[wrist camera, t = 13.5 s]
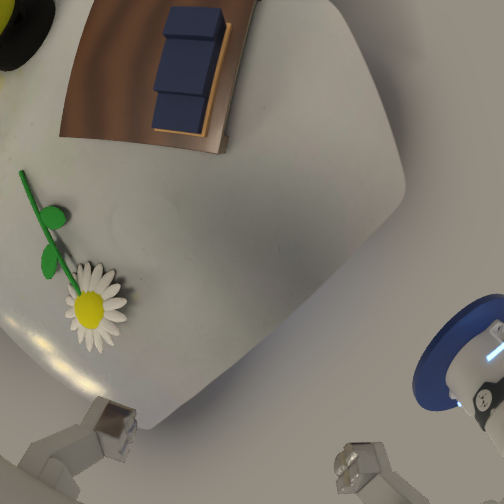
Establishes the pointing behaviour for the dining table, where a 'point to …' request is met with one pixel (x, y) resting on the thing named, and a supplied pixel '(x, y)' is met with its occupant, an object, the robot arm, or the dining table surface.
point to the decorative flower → (81, 285)
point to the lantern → (23, 30)
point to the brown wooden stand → (142, 73)
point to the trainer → (189, 69)
